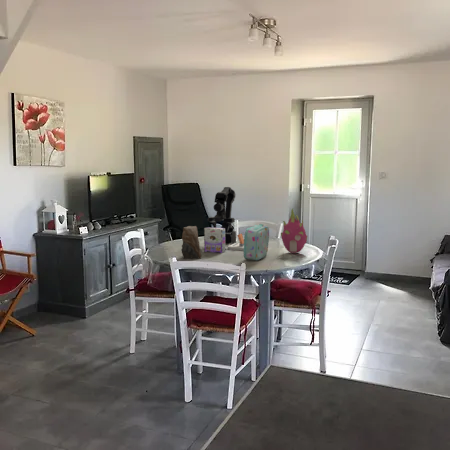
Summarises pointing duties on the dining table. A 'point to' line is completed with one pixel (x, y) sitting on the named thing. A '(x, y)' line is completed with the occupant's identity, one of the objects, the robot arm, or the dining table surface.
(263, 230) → the lunch box
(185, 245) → the owl
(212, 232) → the candy box
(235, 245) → the panel
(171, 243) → the dining table surface
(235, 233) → the far post
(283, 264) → the dining table surface
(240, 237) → the block
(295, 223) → the pink dragon fruit
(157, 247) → the dining table surface
